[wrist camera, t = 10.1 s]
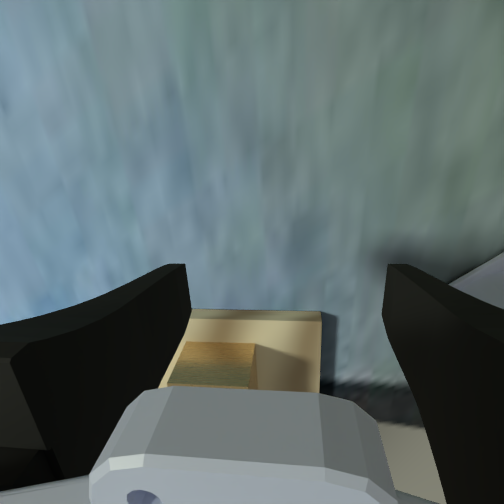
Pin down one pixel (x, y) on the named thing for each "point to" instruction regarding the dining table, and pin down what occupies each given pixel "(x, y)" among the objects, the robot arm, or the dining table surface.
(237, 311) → the post stand
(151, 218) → the dining table surface
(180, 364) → the collar
